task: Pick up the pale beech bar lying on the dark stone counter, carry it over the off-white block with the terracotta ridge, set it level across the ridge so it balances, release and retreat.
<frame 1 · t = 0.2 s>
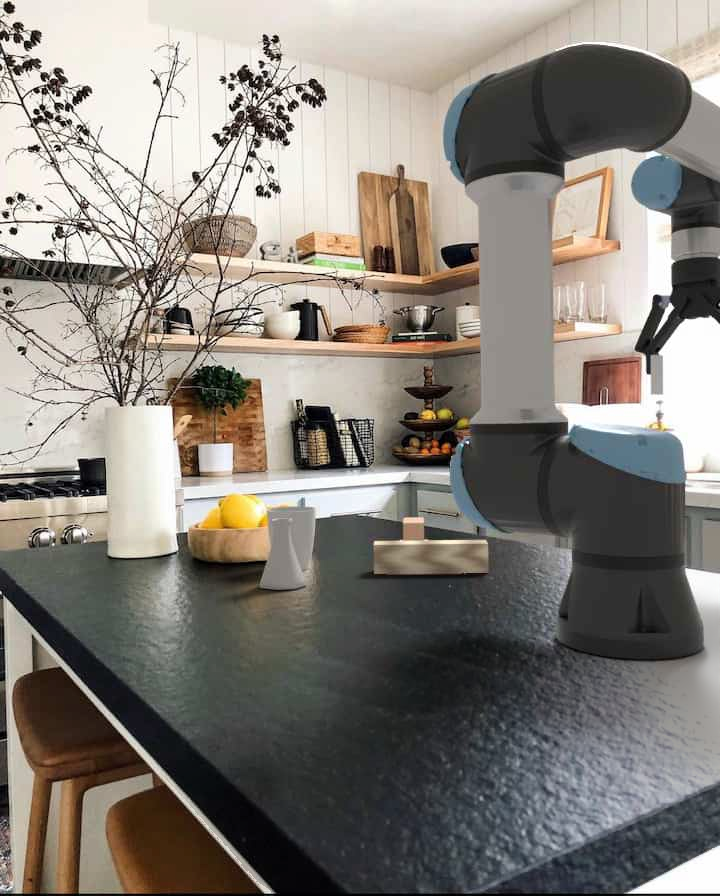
hand: (697, 393, 131), 28 cm above the countertop, fingers open, 13 cm apart
cup: (292, 570, 136), on the countertop
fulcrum: (414, 560, 142), on the countertop
flask: (283, 587, 122), on the countertop
bar: (430, 573, 131), on the countertop
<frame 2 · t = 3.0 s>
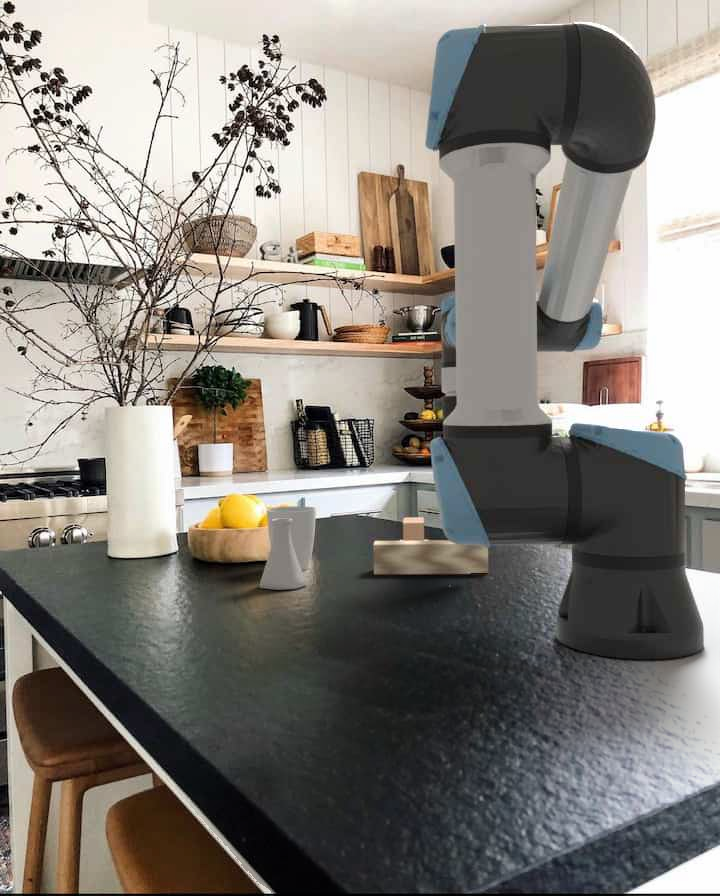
hand: (467, 527, 131), 7 cm above the countertop, fingers open, 13 cm apart
nothing on the countertop moved.
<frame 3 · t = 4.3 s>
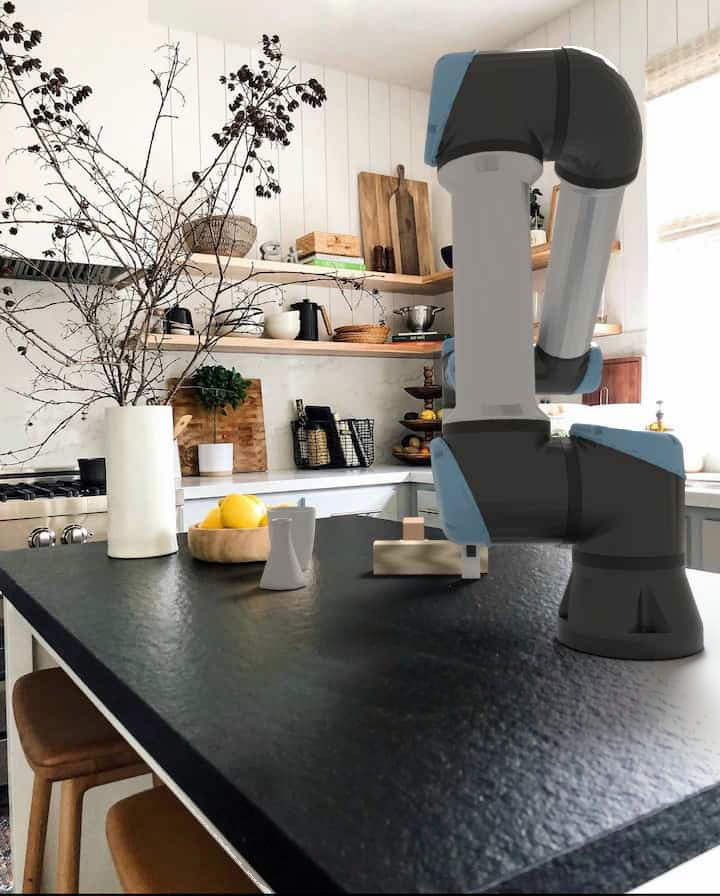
hand: (468, 570, 131), 0 cm above the countertop, fingers open, 12 cm apart
nothing on the countertop moved.
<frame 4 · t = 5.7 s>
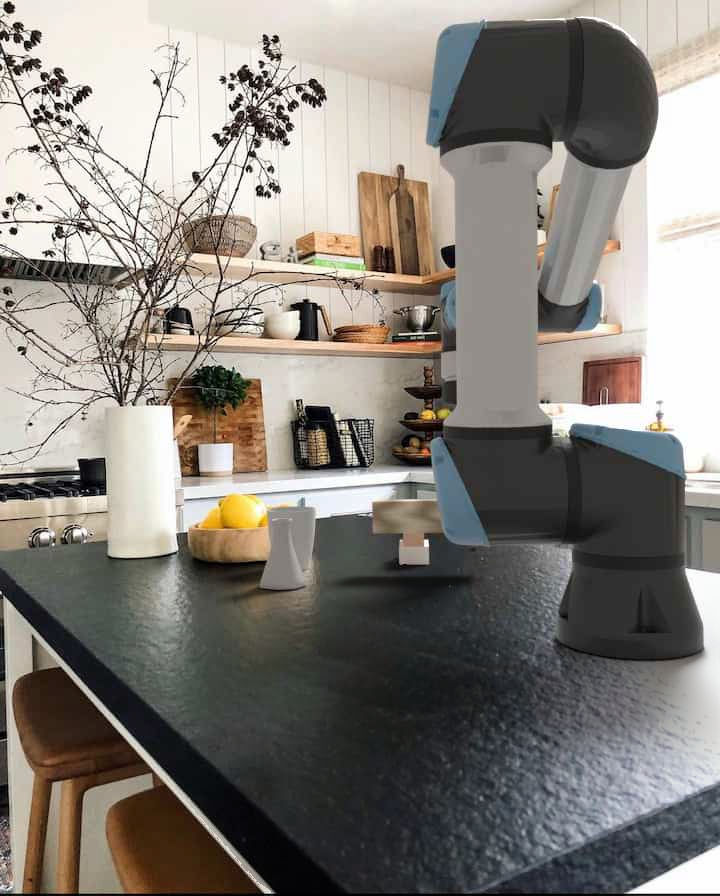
hand: (468, 527, 130), 7 cm above the countertop, fingers closed on bar, 4 cm apart
bar: (429, 531, 130), point 7 cm above the countertop, touching gripper
everything else where it was.
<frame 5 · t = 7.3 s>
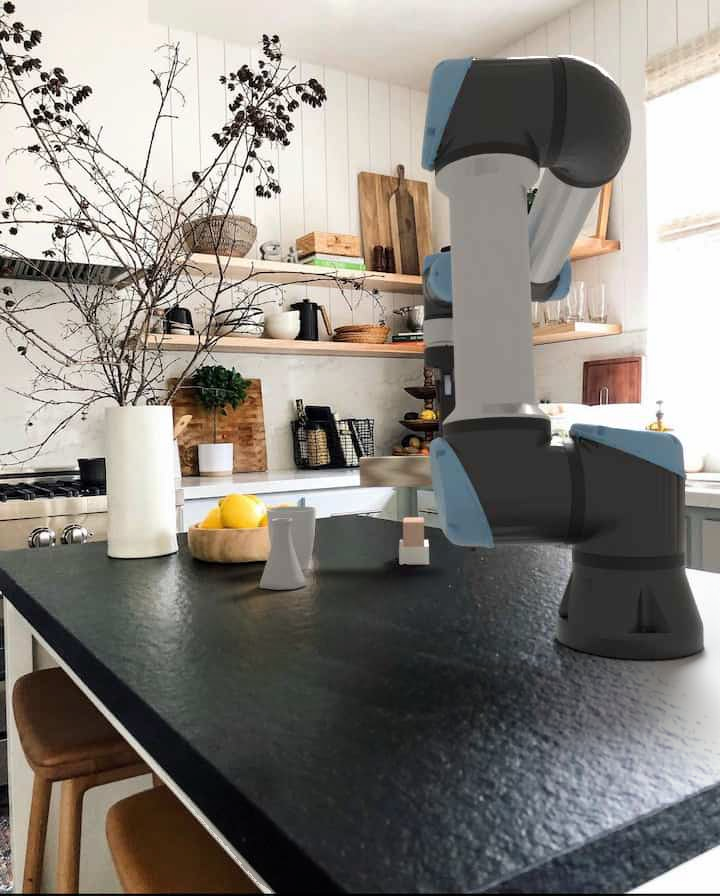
hand: (447, 481, 141), 14 cm above the countertop, fingers closed on bar, 4 cm apart
bar: (412, 485, 141), point 13 cm above the countertop, touching gripper
everything else where it was.
when the fingers open (6 cm above the countertop, at t = 9.1 s): bar stays where it is, resting on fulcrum.
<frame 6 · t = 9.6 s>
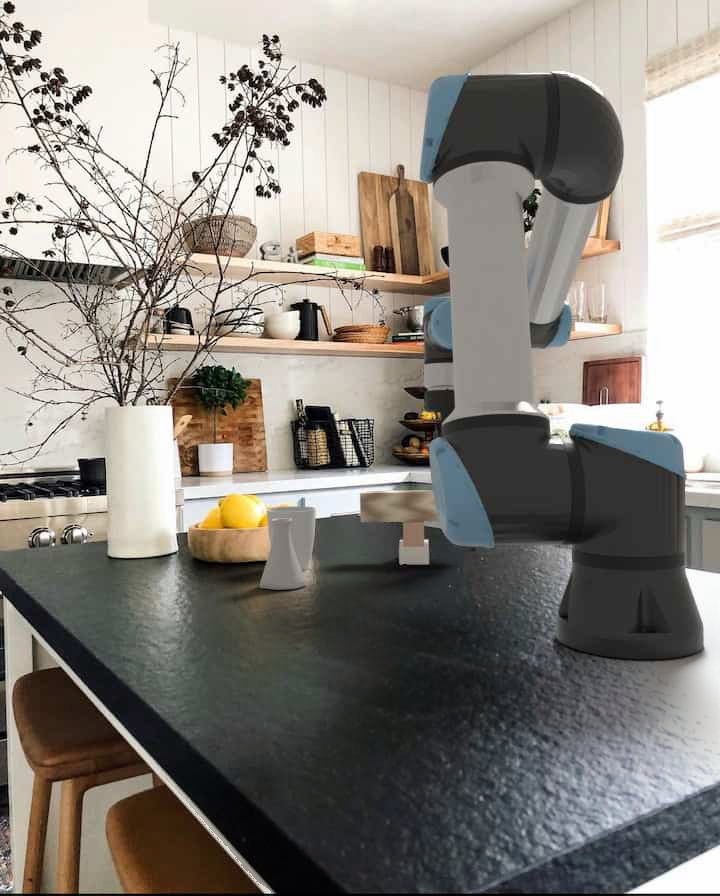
hand: (448, 515, 141), 8 cm above the countertop, fingers open, 11 cm apart
bar: (413, 520, 142), point 7 cm above the countertop, touching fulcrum
everything else where it was.
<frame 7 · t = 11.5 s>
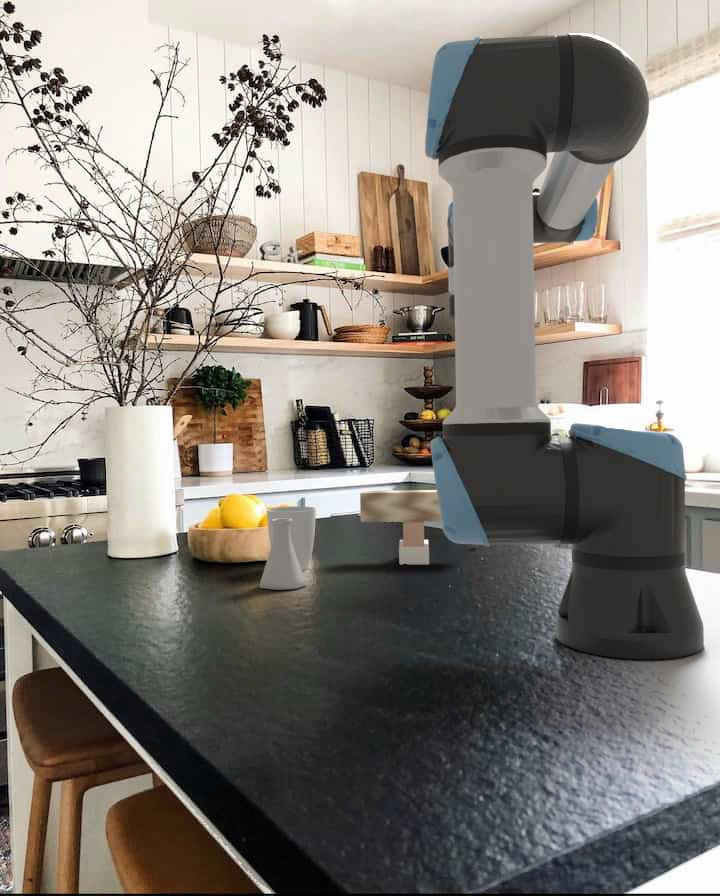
hand: (473, 420, 138), 24 cm above the countertop, fingers open, 13 cm apart
nothing on the countertop moved.
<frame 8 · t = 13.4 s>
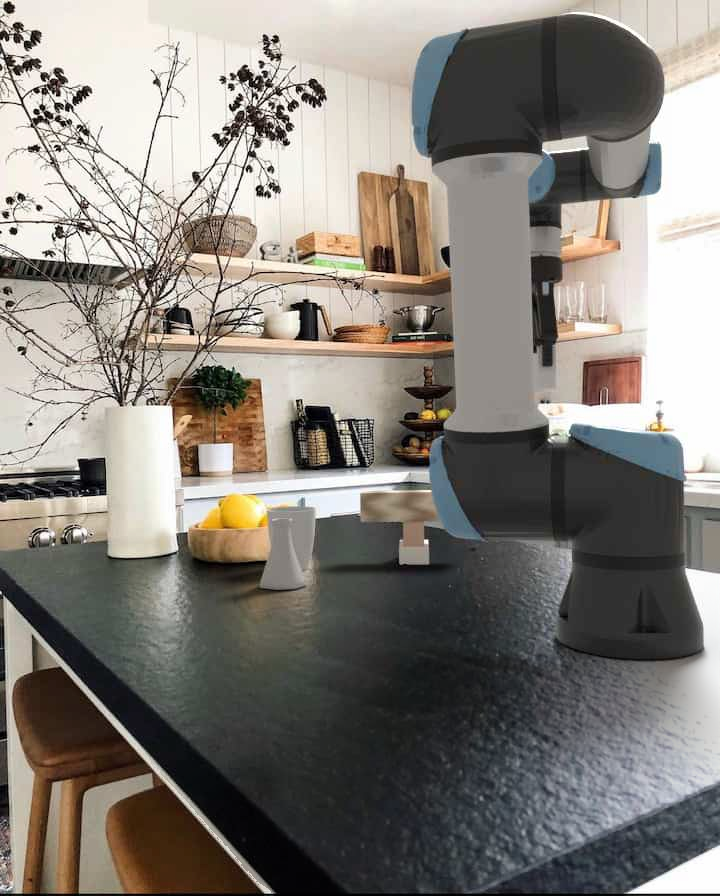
hand: (540, 390, 133), 29 cm above the countertop, fingers open, 13 cm apart
nothing on the countertop moved.
at the end: bar 0.1 cm off-centre on the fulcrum, point 7.0 cm above the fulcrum's base; bar tilted 0°; bar touching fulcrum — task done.
